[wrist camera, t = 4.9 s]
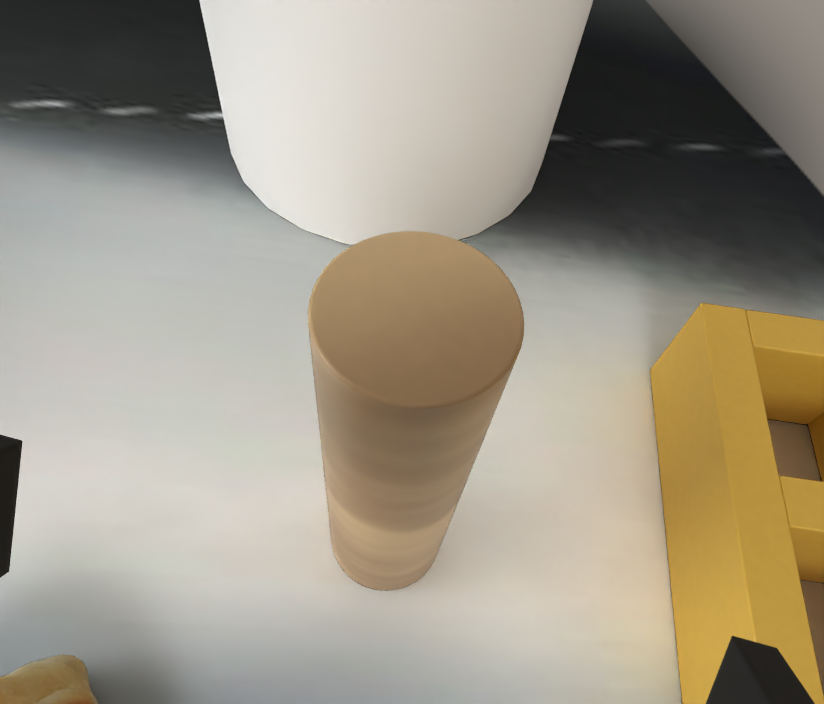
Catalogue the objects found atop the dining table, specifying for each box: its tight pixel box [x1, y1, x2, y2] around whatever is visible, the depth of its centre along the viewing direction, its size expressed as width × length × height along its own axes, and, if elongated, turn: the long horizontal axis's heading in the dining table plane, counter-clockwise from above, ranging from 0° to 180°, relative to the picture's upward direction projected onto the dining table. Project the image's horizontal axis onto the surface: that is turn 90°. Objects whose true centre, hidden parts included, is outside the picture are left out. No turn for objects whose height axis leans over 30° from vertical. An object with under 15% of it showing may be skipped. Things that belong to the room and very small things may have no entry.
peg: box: [308, 231, 524, 591], centre depth 18 cm, size 4×4×14 cm
